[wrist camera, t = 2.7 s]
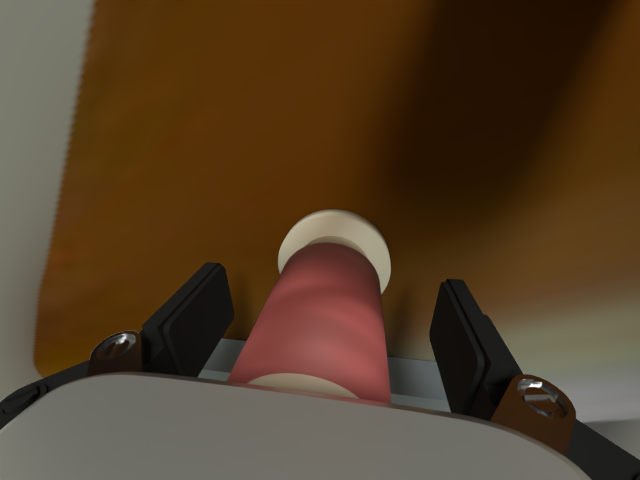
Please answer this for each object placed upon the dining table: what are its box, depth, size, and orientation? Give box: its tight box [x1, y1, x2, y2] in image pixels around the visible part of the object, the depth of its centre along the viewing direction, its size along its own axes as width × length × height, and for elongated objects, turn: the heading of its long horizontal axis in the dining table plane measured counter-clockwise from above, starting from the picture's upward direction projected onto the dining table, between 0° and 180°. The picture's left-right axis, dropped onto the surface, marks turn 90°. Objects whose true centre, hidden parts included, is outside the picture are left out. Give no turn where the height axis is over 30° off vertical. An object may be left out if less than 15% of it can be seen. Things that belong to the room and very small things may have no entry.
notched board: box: [197, 338, 451, 412], centre depth 22 cm, size 20×24×2 cm
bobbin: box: [227, 209, 391, 403], centre depth 10 cm, size 6×6×10 cm
